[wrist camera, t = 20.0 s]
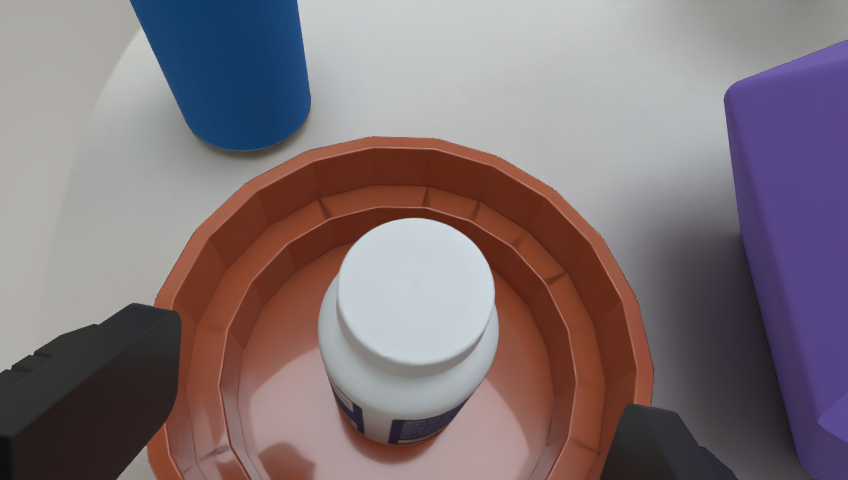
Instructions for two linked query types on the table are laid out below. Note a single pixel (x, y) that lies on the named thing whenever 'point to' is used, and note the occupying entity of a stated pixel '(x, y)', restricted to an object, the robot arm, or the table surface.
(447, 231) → the pill bottle
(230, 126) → the beverage can
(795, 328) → the purple diamond gem
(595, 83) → the table surface
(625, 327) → the bowl
